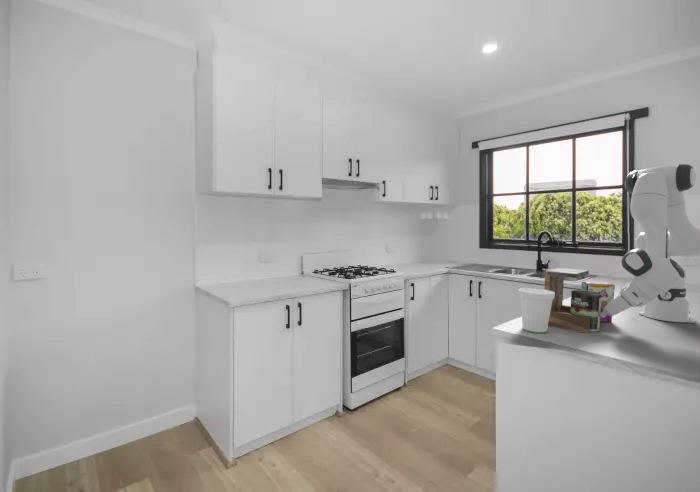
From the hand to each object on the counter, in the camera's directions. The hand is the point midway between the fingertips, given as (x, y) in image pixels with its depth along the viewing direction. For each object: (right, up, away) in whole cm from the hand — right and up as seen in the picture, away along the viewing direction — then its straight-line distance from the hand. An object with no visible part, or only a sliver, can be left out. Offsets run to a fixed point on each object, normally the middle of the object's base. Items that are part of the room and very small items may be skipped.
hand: (601, 315), depth 140 cm
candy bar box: (+8, -5, +15) cm, 18 cm away
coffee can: (-4, -6, +4) cm, 8 cm away
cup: (-26, -6, -1) cm, 27 cm away
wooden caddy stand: (-6, -5, +7) cm, 11 cm away
